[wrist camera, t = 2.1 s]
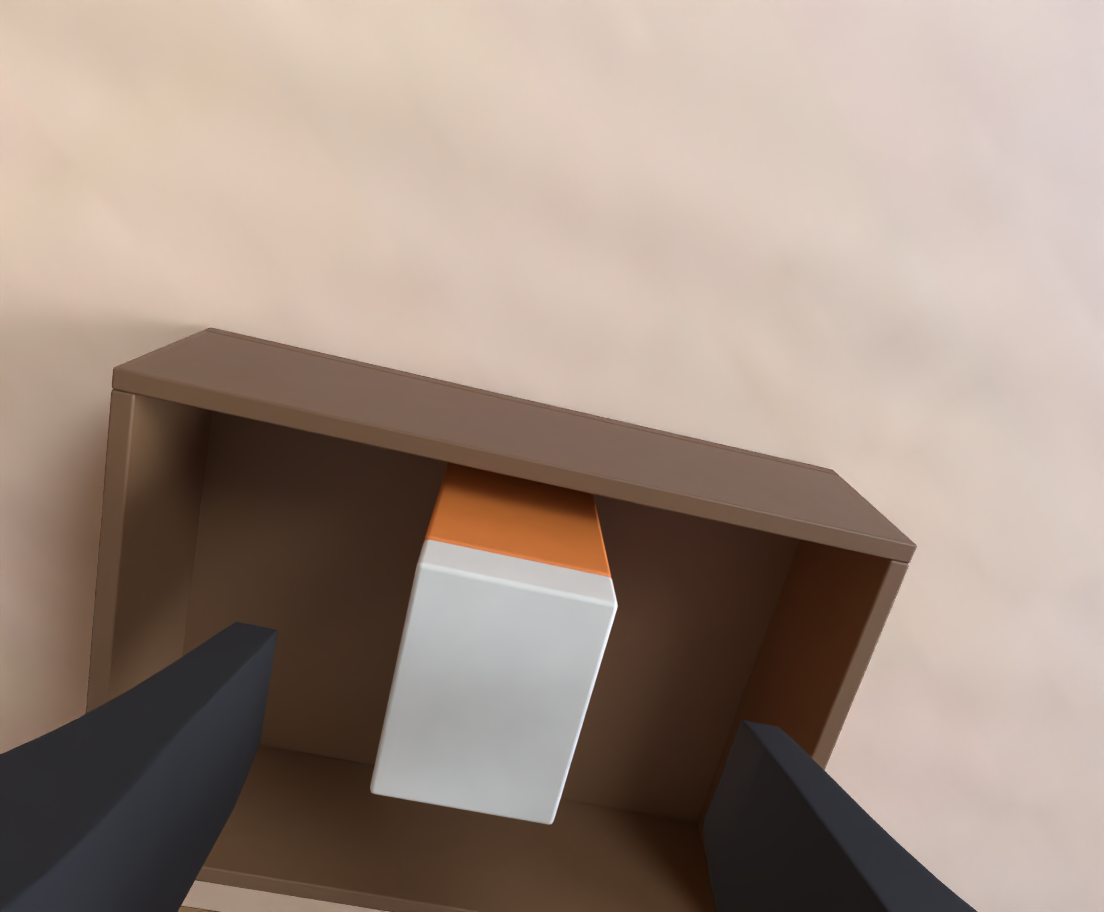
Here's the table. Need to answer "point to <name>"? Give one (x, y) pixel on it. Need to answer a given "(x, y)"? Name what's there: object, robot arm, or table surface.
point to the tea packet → (497, 648)
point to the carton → (383, 596)
